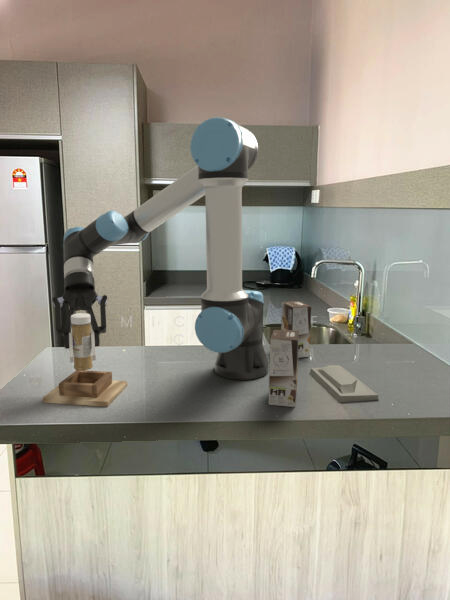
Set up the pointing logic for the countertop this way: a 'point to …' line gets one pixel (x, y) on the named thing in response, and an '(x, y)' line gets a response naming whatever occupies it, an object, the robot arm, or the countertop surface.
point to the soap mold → (342, 384)
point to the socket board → (86, 389)
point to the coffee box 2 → (283, 367)
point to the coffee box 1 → (298, 323)
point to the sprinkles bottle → (82, 341)
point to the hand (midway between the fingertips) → (82, 358)
